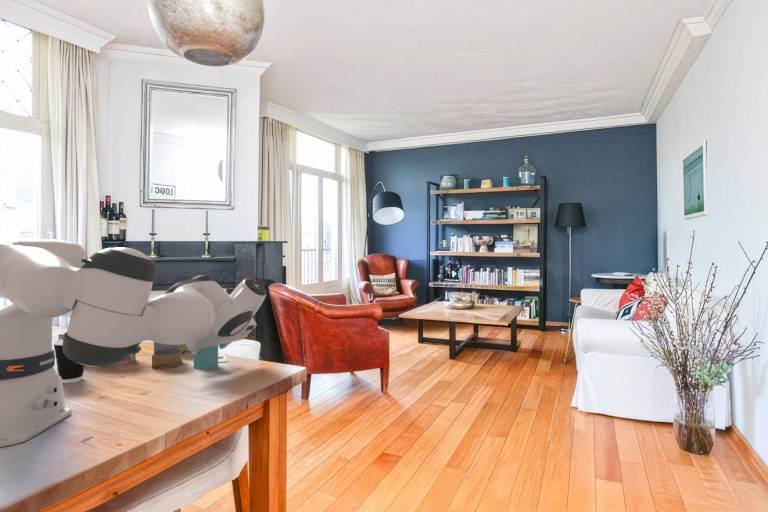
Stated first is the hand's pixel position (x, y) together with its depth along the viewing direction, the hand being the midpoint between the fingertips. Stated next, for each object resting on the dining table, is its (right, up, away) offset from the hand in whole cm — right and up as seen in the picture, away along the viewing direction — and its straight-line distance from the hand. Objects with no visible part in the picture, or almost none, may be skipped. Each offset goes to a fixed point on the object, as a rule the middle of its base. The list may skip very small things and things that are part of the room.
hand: (208, 350), depth 137 cm
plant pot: (-18, -5, +19) cm, 26 cm away
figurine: (-64, -3, +35) cm, 72 cm away
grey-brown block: (-14, -5, +2) cm, 15 cm away
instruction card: (-2, -5, +9) cm, 11 cm away
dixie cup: (-33, -6, -13) cm, 36 cm away
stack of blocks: (-37, -5, +5) cm, 38 cm away
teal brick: (-1, -5, 0) cm, 5 cm away
